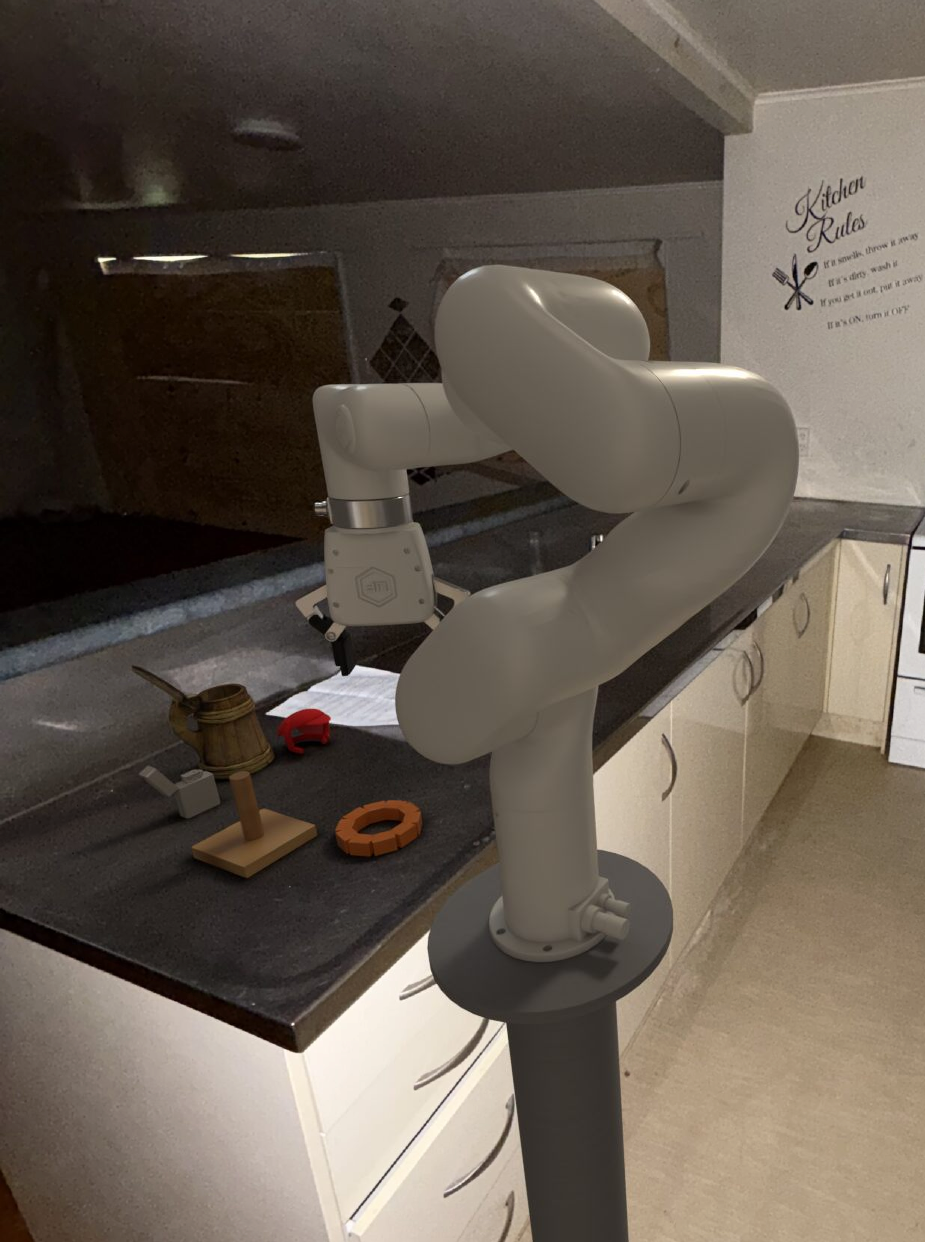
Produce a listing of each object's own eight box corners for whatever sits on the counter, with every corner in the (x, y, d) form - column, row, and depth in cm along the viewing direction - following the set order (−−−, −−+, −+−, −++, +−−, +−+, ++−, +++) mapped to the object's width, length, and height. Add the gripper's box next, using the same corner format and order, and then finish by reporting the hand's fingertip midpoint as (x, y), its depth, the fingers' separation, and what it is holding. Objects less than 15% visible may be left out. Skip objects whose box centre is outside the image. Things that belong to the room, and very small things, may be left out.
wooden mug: (151, 783, 101) (113, 658, 95) (253, 744, 112) (226, 630, 105) (183, 802, 97) (146, 672, 90) (287, 759, 107) (260, 641, 101)
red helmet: (271, 757, 108) (262, 719, 106) (291, 738, 113) (284, 702, 111) (327, 756, 108) (320, 719, 106) (345, 738, 114) (338, 702, 112)
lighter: (213, 799, 97) (198, 744, 94) (221, 803, 96) (206, 747, 94) (153, 827, 91) (136, 769, 88) (161, 831, 90) (144, 772, 88)
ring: (438, 822, 93) (437, 809, 92) (378, 864, 85) (375, 851, 84) (383, 805, 96) (381, 793, 96) (320, 845, 88) (317, 831, 87)
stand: (317, 835, 90) (302, 765, 86) (246, 878, 82) (227, 803, 79) (266, 818, 93) (249, 750, 90) (193, 858, 86) (172, 785, 82)
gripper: (266, 522, 71) (300, 687, 77) (456, 518, 74) (474, 677, 81) (292, 508, 78) (321, 661, 84) (465, 505, 81) (480, 652, 87)
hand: (396, 668), depth 82 cm, fingers open, 9 cm apart
